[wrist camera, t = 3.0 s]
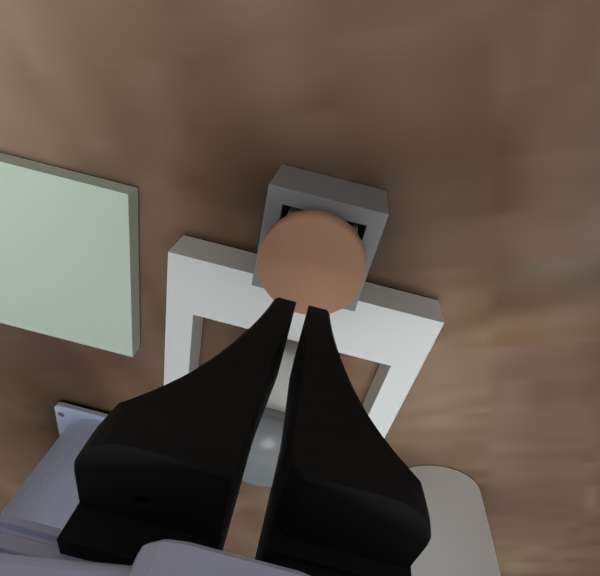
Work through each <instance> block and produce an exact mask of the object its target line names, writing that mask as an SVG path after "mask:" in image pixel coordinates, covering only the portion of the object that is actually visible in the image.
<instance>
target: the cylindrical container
mask: <svg viewBox="0 0 600 576" xmlns="http://www.w3.org/2000/svg"><path fill="white" fill-rule="evenodd" d="M409 469H410V470H411V471H412V472H413V473H414V475H415V476H416V477H417V478H418V479H419V480H420V481H421V484H422V488H423V492H424V495H425V499H426V503H427V507H428V511H429V517H430V525H431V539H430V541H429V543H428V545H427V547H426V548H425V549H424V550H423V552H422V553H421V554H420V555H419V557H418V558H417V559H416V560H415V562H414V563H413V564H412V565H411V575H412V576H501V574H500V570H499V566H498V562H497V557H496V553H495V549H494V545H493V541H492V537H491V533H490V529H489V524H488V520H487V516H486V512H485V508H484V504H483V500H482V496H481V491H480V489H479V487H478V485H477V484H476V483H475V482H474V481H473V480H472V479H471V478H470V477H468V476H467V475H465V474H463V473H461V472H459V471H457V470H454V469H451V468H446V467H441V466H430V465H427V466H415V467H410V468H409Z"/></svg>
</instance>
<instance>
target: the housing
mask: <svg viewBox="0 0 600 576" xmlns="http://www.w3.org/2000/svg"><path fill="white" fill-rule="evenodd" d="M289 206H291V207H295V208H299V209H303V210H319V211H324V212H328V213H331V214H334V215H336V216H338V217H340V218H341V219H343V220H346V221H350V222H354V223H358V224H360V225H359V228H358V235H359V237H360V238H361V240H362V243H363V245H364V249H365V254H366V273H365V280H364V284H363V286H362V289H361V291H360V292H359V294H358V295H357V297H356V298H355V299H354V300H353V301H352V302H351V303H350V304H348V305H347V306H346V307H344V308H342V309H340V310H338V311H336V312H333V313H330V322H331V327H332V331H333V335H334V339H335V343H336V346H337V349H338V352H339V353H343V354H347V355H351V356H355V357H359V358H362V359H366V360H370V361H374V362H378V363H380V365H379V367H378V370H377V372H376V374H375V376H374V379H373V381H372V383H371V386H370V388H369V390H368V392H367V395H366V397H365V399H364V402H363V404H362V405H363V407H364V409H365V411H366V412H367V414H368V416H369V417H370V419H371V420H372V422H373V423H374V425H375V426H376V428H377V429H378V431H379V432H380V433H381V435H382V436H383V438H385V436H386V434H387V432H388V430H389V428H390V426H391V424H392V423H393V421H394V419H395V417H396V415H397V413H398V411H399V409H400V407H401V405H402V403H403V401H404V399H405V398H406V396H407V394H408V392H409V390H410V388H411V386H412V384H413V382H414V380H415V378H416V376H417V374H418V372H419V371H420V369H421V367H422V365H423V363H424V361H425V359H426V357H427V355H428V353H429V351H430V349H431V347H432V346H433V344H434V342H435V340H436V338H437V336H438V334H439V332H440V330H441V328H442V326H443V324H444V320H443V316H442V312H441V309H440V305H439V301H438V300H435V299H431V298H427V297H423V296H419V295H415V294H412V293H408V292H404V291H400V290H396V289H392V288H388V287H384V286H380V285H377V284H373V283H369V282H365V281H366V278H367V275H368V272H369V269H370V267H371V264H372V261H373V258H374V255H375V253H376V250H377V247H378V244H379V241H380V238H381V236H382V233H383V230H384V227H385V224H386V222H387V219H388V216H389V210H388V201H387V192H386V190H382V189H379V188H375V187H371V186H367V185H363V184H359V183H355V182H351V181H347V180H343V179H339V178H335V177H331V176H328V175H324V174H320V173H316V172H312V171H308V170H304V169H300V168H296V167H292V166H288V165H284V164H282V165H281V166H280V168H279V169H278V171H277V172H276V174H275V175H274V177H273V178H272V180H271V181H270V183H269V186H268V191H267V197H266V203H265V209H264V215H263V221H262V227H261V232H260V238H259V244H258V250H257V254H256V253H252V252H248V251H244V250H240V249H236V248H233V247H229V246H225V245H221V244H217V243H213V242H209V241H205V240H201V239H198V238H194V237H190V236H186V235H183V236H182V237H181V238H180V239H179V240H178V242H177V243H176V244H175V245H174V246H173V247H172V248H171V249H170V250H169V251H168V269H167V300H166V331H165V363H164V385H166V384H168V383H170V382H172V381H174V380H176V379H178V378H180V377H182V376H184V375H186V374H188V373H190V372H191V371H193V370H195V369H196V368H198V367H199V358H200V348H201V338H202V327H203V317H204V318H208V319H212V320H216V321H219V322H223V323H227V324H231V325H235V326H239V327H243V328H246V329H249V328H250V327H251V326H252V325H253V324H254V323H255V322H256V321H257V320H258V319H259V318H260V317H261V316H262V315H263V313H264V312H265V311H266V310H267V309H268V307H269V306H270V305H271V303H272V302H273V299H272V298H271V297H270V296H269V294H268V293H267V292H266V290H265V289H264V287H263V286H262V284H261V282H260V279H259V276H258V271H257V258H258V254H259V250H260V248H261V245H262V244H263V242H264V240H265V238H266V236H267V234H268V232H269V231H270V229H271V228H272V227H273V226H274V225H275V224H276V223H277V222H278V221H279V220H280V219H282V218H283V217H285V216H287V212H288V208H289ZM305 317H306V315H305V314H300V313H296V312H294V314H293V318H292V322H291V326H290V330H289V334H288V338H287V339H289V340H293V341H297V342H299V338H300V335H301V331H302V328H303V324H304V320H305Z"/></svg>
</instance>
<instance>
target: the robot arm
mask: <svg viewBox="0 0 600 576" xmlns="http://www.w3.org/2000/svg"><path fill="white" fill-rule="evenodd" d="M295 306H296V302H294V301H290V300H287V299H283V298H279V297H278V298H276V299H274V300H273V302H272V303H271V305H270V306H269V307H268V309H267V310H266V311H265V312H264V313H263V315H262V316H261V317H260V318H259V319H258V320H257V321H256V322H255V323H254V324H253V325H252V326H251V327H250V328H249V329H248V330H247V331H246V332H245V333H244V334H243V335H241V336H240V337H239V338H238V339H237V340H236V341H234V342H233V343H232V344H231V345H230V346H228V347H227V348H226V349H225V350H223V351H222V352H221V353H219V354H218V355H216V356H215V357H213V358H212V359H211V360H209V361H208V362H206V363H204V364H203V365H201V366H200V367H198V368H196V369H195V370H193V371H191V372H190V373H188V374H186V375H184V376H182V377H180V378H178V379H176V380H174V381H172V382H170V383H168V384H166V385H164V386H162V387H160V388H158V389H156V390H153V391H151V392H148V393H146V394H143V395H140V396H138V397H135V398H133V399H130V400H127V401H124V402H121V403H119V404H118V405H117V406H116V407H115V408H114V409H113V410H112V411H111V412H110V413H109V414H106V413H102V412H98V411H94V410H90V409H87V408H83V407H79V406H75V405H71V404H68V403H64V402H58V403H57V404H56V405H55V407H54V409H55V414H56V419H57V425H58V430H59V435H60V436H59V438H58V439H57V440H56V442H55V443H54V444H53V446H52V447H51V448H50V449H49V451H48V452H47V453H46V455H45V456H44V457H43V459H42V460H41V461H40V462H39V464H38V465H37V466H36V468H35V469H34V470H33V472H32V473H31V474H30V475H29V477H28V478H27V479H26V481H25V482H24V483H23V485H22V486H21V487H20V488H19V490H18V491H17V492H16V494H15V495H14V496H13V498H12V499H11V500H10V501H9V503H8V504H7V505H6V507H5V508H4V509H3V511H2V512H1V513H0V576H412V575H411V565H412V564H413V563H414V562H415V560H416V559H417V558H418V557H419V555H420V554H421V553H422V552H423V550H424V549H425V548H426V547H427V545H428V543H429V541H430V539H431V525H430V517H429V511H428V507H427V503H426V499H425V495H424V492H423V488H422V484H421V481H420V480H419V479H418V478H417V477H416V476H415V475H414V473H413V472H412V471H411V470H410V469H409V468H408V467H407V466H406V465H405V463H404V462H403V461H402V460H401V459H400V458H399V457H398V456H397V454H396V453H395V452H394V451H393V449H392V448H391V447H390V446H389V444H388V443H387V442H386V440H385V439H384V438H383V436H382V435H381V433H380V432H379V431H378V429H377V428H376V426H375V425H374V423H373V422H372V420H371V419H370V417H369V416H368V414H367V412H366V411H365V409H364V407H363V405H362V404H361V402H360V400H359V398H358V396H357V394H356V393H355V391H354V389H353V387H352V384H351V382H350V380H349V378H348V376H347V373H346V371H345V368H344V366H343V363H342V361H341V358H340V355H339V352H338V349H337V346H336V343H335V339H334V335H333V331H332V327H331V322H330V314H329V312H328V311H327V310H325V309H322V308H318V307H314V306H310V305H309V306H308V309H307V313H306V317H305V320H304V324H303V328H302V331H301V335H300V338H299V342H298V346H297V349H296V353H295V357H294V362H293V366H292V370H291V374H290V378H289V386H288V393H287V401H286V409H285V417H284V425H283V433H282V440H281V446H280V452H279V456H278V461H277V465H276V470H275V474H274V479H273V483H272V487H271V492H270V496H269V501H268V505H267V509H266V514H265V518H264V522H263V527H262V531H261V535H260V540H259V544H258V548H257V553H256V557H255V559H252V558H248V557H244V556H240V555H237V554H233V553H229V552H225V551H223V547H224V544H225V540H226V536H227V533H228V529H229V525H230V522H231V518H232V514H233V511H234V507H235V504H236V500H237V496H238V493H239V489H240V485H241V482H242V478H243V475H244V471H245V467H246V464H247V460H248V457H249V453H250V449H251V446H252V443H253V440H254V437H255V434H256V431H257V428H258V426H259V423H260V420H261V418H262V415H263V413H264V410H265V407H266V405H267V402H268V400H269V397H270V394H271V392H272V389H273V386H274V384H275V381H276V379H277V376H278V372H279V369H280V365H281V361H282V357H283V353H284V350H285V346H286V342H287V338H288V334H289V330H290V326H291V322H292V318H293V314H294V310H295Z"/></svg>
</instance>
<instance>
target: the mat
mask: <svg viewBox="0 0 600 576" xmlns="http://www.w3.org/2000/svg"><path fill="white" fill-rule="evenodd" d="M0 323H3V324H7V325H11V326H15V327H18V328H22V329H26V330H30V331H34V332H38V333H42V334H45V335H49V336H53V337H57V338H61V339H65V340H68V341H72V342H76V343H80V344H84V345H88V346H92V347H95V348H99V349H103V350H107V351H111V352H115V353H118V354H122V355H126V356H130V357H133V356H134V355H135V353H136V352H137V351H138V349H139V348H140V303H139V229H138V188H137V187H133V186H129V185H125V184H121V183H117V182H113V181H109V180H105V179H102V178H98V177H94V176H90V175H86V174H82V173H78V172H74V171H70V170H66V169H63V168H59V167H55V166H51V165H47V164H43V163H39V162H35V161H31V160H27V159H24V158H20V157H16V156H12V155H8V154H4V153H0Z"/></svg>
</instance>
